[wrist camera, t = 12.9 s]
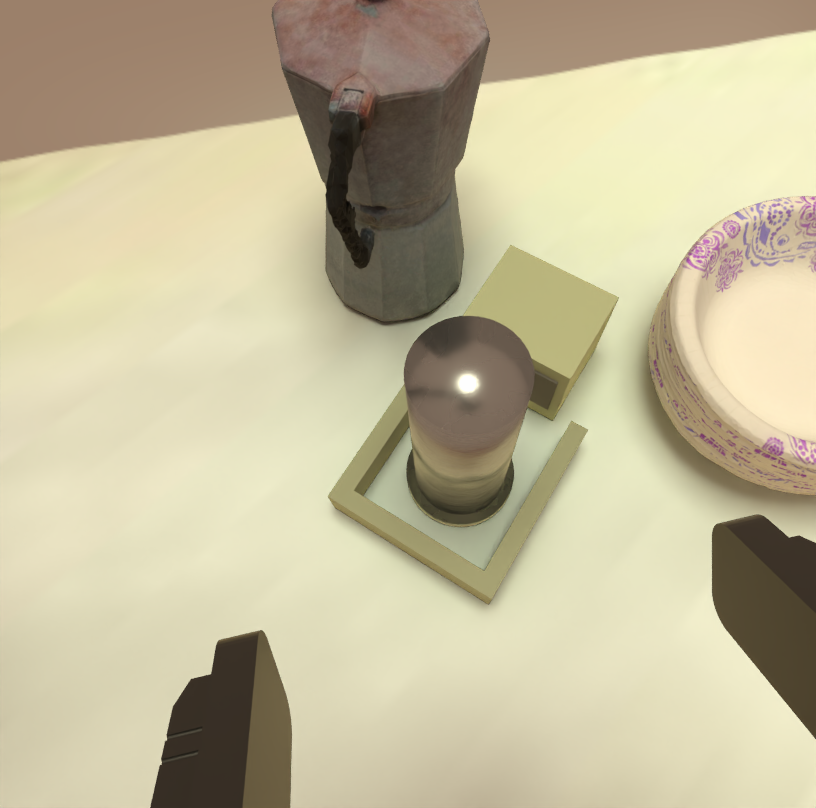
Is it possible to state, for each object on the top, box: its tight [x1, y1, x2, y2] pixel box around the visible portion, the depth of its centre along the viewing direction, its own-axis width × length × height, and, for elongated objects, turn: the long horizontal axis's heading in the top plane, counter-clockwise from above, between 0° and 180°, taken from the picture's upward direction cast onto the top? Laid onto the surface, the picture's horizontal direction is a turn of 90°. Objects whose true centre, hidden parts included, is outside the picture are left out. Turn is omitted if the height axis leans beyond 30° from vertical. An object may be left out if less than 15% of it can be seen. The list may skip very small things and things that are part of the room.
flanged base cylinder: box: [404, 316, 535, 527], centre depth 33 cm, size 6×6×14 cm
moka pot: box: [272, 0, 490, 322], centre depth 36 cm, size 10×15×20 cm, turn 173°
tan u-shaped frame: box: [328, 245, 619, 604], centre depth 38 cm, size 16×10×6 cm, turn 148°
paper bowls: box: [648, 196, 816, 495], centre depth 37 cm, size 15×15×8 cm
